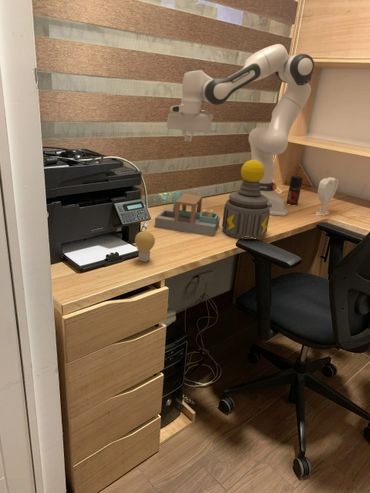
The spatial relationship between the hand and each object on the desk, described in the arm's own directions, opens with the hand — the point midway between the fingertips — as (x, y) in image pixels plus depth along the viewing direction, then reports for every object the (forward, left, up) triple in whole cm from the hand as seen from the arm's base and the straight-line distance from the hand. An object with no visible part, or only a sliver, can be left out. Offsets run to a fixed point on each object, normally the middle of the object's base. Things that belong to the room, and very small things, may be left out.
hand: (187, 141), depth 173 cm
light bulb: (-3, +66, -31) cm, 73 cm away
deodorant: (-53, -33, -31) cm, 70 cm away
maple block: (-17, +27, -27) cm, 42 cm away
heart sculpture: (-68, -24, -31) cm, 79 cm away
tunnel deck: (-9, +27, -31) cm, 42 cm away
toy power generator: (-32, +24, -31) cm, 51 cm away
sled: (-11, +27, -27) cm, 40 cm away
